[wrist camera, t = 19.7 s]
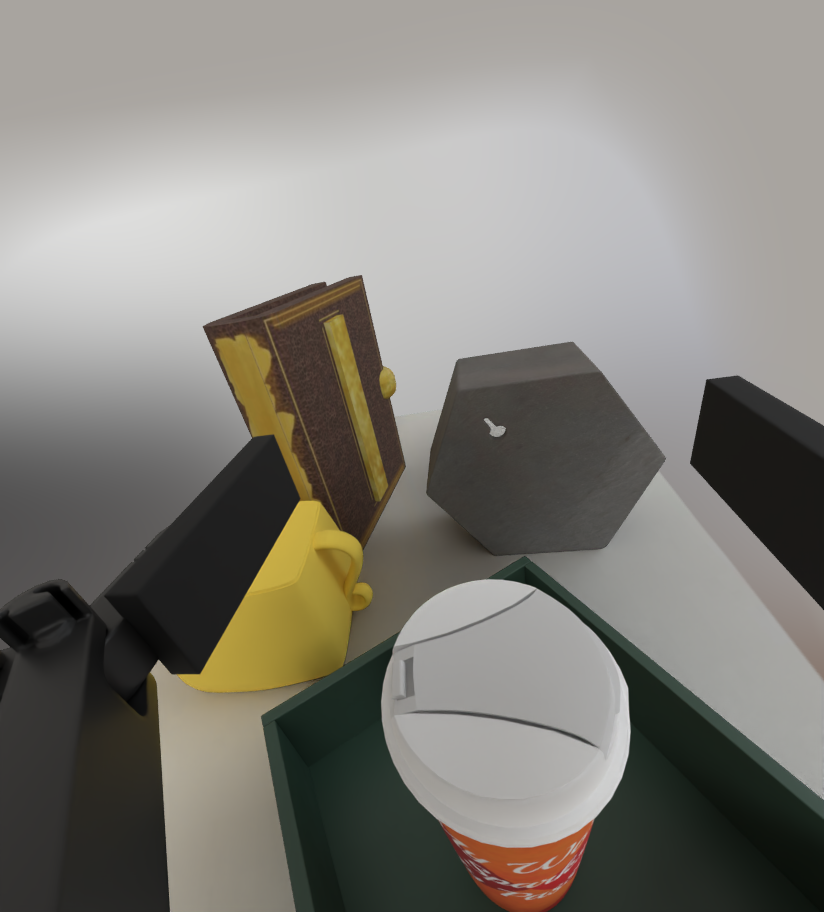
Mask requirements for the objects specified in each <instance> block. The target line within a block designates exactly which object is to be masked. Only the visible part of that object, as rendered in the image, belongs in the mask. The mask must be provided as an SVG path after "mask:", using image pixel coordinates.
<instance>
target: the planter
mask: <svg viewBox="0 0 824 912" xmlns="http://www.w3.org/2000/svg"><path fill="white" fill-rule="evenodd" d="M485 418H488V419H489V420H490V421H491V422H492V423H493V424H494V425H495V426H496V427H497V426H504V427H505V428H506V431H505V433H504V434H503V435H502V436H500V437H493V436H491V435H490V434H489V433H490V431H491V429H490V427H489V425H488V424H487V423H486V422H485V421H484V420H483V419H485ZM665 459H666V458H665V456H664V455H663V453H662V452H661V451H660V449H659V448H658V446H657V445H656V444H655V443H654V441H653V440H652V439H651V437H650V436H649V435H648V433H647V432H646V431H645V429H644V428H643V427H642V425H641V424H640V423H639V421H638V420H637V419H636V417H635V416H634V414H633V413H632V412H631V411H630V409H629V408H628V407H627V405H626V404H625V403H624V401H623V400H622V399H621V397H620V396H619V395H618V393H617V392H616V391H615V389H614V388H613V387H612V385H611V384H610V383H609V381H608V380H607V379H606V377H605V376H604V375H603V373H602V372H601V371H600V370H599V369H598V368H597V367H596V366H595V365H594V364H593V362H591V360H589V358H588V357H587V356H586V355H585V354H584V353H583V352H582V351H581V350H580V349H579V348H578V347H577V346H576V345H575V343H574V342H567V343H561V344H554V345H547V346H541V347H534V348H528V349H521V350H515V351H508V352H502V353H495V354H488V355H482V356H476V357H470V358H463V359H458V360H457V362H456V365H455V368H454V371H453V375H452V378H451V382H450V385H449V389H448V392H447V395H446V399H445V402H444V406H443V409H442V413H441V416H440V419H439V423H438V426H437V430H436V433H435V437H434V440H433V444H432V447H431V452H430V462H429V472H428V482H427V491H426V493H427V495H428V496H429V497H430V498H431V499H432V500H433V501H434V502H436V503H437V504H438V505H439V506H440V507H441V508H442V509H443V510H444V511H446V512H447V513H448V514H449V515H450V516H451V517H452V518H453V519H454V520H455V521H457V522H458V523H459V524H460V525H461V526H462V527H463V528H464V529H465V530H467V531H468V532H469V533H470V534H471V535H472V536H473V537H474V538H475V539H476V540H478V541H479V542H480V543H481V544H482V545H483V546H484V547H485V548H486V549H488V550H489V551H490V552H491V553H492V554H493V555H511V554H526V553H541V552H557V551H572V550H587V549H600V548H604V547H606V546H607V545H608V543H609V542H610V540H611V539H612V538H613V536H614V535H615V533H616V532H617V530H618V529H619V527H620V526H621V525H622V523H623V522H624V520H625V519H626V517H627V516H628V514H629V513H630V511H631V510H632V508H633V507H634V506H635V504H636V503H637V501H638V500H639V498H640V497H641V495H642V494H643V492H644V491H645V489H646V488H647V486H648V485H649V484H650V482H651V481H652V479H653V478H654V476H655V475H656V473H657V472H658V470H659V469H660V467H661V466H662V464H663V463H664V462H665Z"/></svg>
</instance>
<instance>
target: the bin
mask: <svg viewBox="0 0 824 912" xmlns="http://www.w3.org/2000/svg"><path fill="white" fill-rule="evenodd" d="M488 579H493V580H507V581H514V582H519V583H522V584H526V585H530V586H532V587H535V588H537V589H539V590H540V591H542V592H544V593H545V594H547V595H549V596H550V597H552V598H554V599H555V600H557V601H558V602H559V603H561V604H562V605H564V606H565V607H567V608H568V609H569V610H570V611H572V612H573V613H574V614H575V615H576V616H577V617H578V618H579V619H580V620H581V621H582V622H583V623H584V624H585V625H586V626H588V627H589V628H590V629H591V630H592V631H593V632H594V633H595V634H596V635H597V636H598V637H599V639H600V640H601V641H602V642H603V644H604V645H605V646H606V647H607V649H608V650H609V651H610V653H611V654H612V656H613V658H614V659H615V661H616V663H617V664H618V666H619V668H620V670H621V672H622V674H623V677H624V679H625V682H626V684H627V686H628V699H629V718H630V730H631V733H630V744H629V755H628V758H627V762H626V765H625V769H624V773H623V776H622V779H621V781H620V783H619V785H618V787H617V788H616V790H615V792H614V794H613V796H612V798H611V799H610V801H609V802H608V803H607V804H606V806H605V807H604V808H603V809H602V811H601V812H600V813H599V814H598V816H597V817H595V819H594V822H593V825H592V828H591V832H590V835H589V838H588V841H587V844H586V847H585V850H584V853H583V856H582V859H581V862H580V865H579V868H578V870H577V873H576V876H575V878H574V880H573V883H572V885H571V887H570V888H569V890H568V892H567V893H566V895H565V896H564V898H563V899H562V900H561V901H560V902H559V903H558V904H557V905H556V906H555V907H553V908H552V909H550V910H548V911H546V912H824V800H823V799H821V798H820V797H819V796H818V795H817V794H815V793H814V792H813V791H812V790H810V789H809V788H808V787H807V786H806V785H804V784H803V783H802V782H801V781H799V780H798V779H797V778H796V777H795V776H793V775H792V774H791V773H790V772H788V771H787V770H786V769H785V768H784V767H782V766H781V765H780V764H779V763H777V762H776V761H775V760H774V759H773V758H771V757H770V756H769V755H768V754H766V753H765V752H764V751H763V750H762V749H760V748H759V747H758V746H757V745H755V744H754V743H753V742H752V741H751V740H749V739H748V738H747V737H746V736H744V735H743V734H742V733H741V732H740V731H738V730H737V729H736V728H735V727H733V726H732V725H731V724H730V723H729V722H727V721H726V720H725V719H724V718H722V717H721V716H720V715H719V714H718V713H716V712H715V711H714V710H713V709H711V708H710V707H709V706H708V705H707V704H705V703H704V702H703V701H702V700H700V699H699V698H698V697H697V696H696V695H694V694H693V693H692V692H691V691H689V690H688V689H687V688H686V687H685V686H683V685H682V684H681V683H680V682H678V681H677V680H676V679H675V678H674V677H672V676H671V675H670V674H669V673H667V672H666V671H665V670H664V669H663V668H661V667H660V666H659V665H658V664H656V663H655V662H654V661H653V660H652V659H650V658H649V657H648V656H647V655H646V654H644V653H643V652H642V651H641V650H639V649H638V648H637V647H636V646H635V645H633V644H632V643H631V642H630V641H628V640H627V639H626V638H625V637H624V636H622V635H621V634H620V633H619V632H617V631H616V630H615V629H614V628H613V627H611V626H610V625H609V624H608V623H606V622H605V621H604V620H603V619H602V618H600V617H599V616H598V615H597V614H595V613H594V612H593V611H592V610H591V609H589V608H588V607H587V606H586V605H584V604H583V603H582V602H581V601H580V600H578V599H577V598H576V597H575V596H573V595H572V594H571V593H570V592H569V591H567V590H566V589H565V588H564V587H562V586H561V585H560V584H559V583H558V582H556V581H555V580H554V579H553V578H551V577H550V576H549V575H548V574H547V573H545V572H544V571H543V570H542V569H540V568H539V567H538V566H537V565H536V564H534V563H533V562H531V561H530V560H529V559H528V558H527V557H526V556H524V557H522V558H521V559H519V560H517V561H516V562H514V563H512V564H511V565H509V566H507V567H506V568H504V569H502V570H501V571H499V572H498V573H496V574H494V575H493V576H491V577H489V578H488ZM486 580H487V579H486ZM400 632H401V631H400ZM400 632H399V633H397V634H395V635H394V636H392V637H390V638H389V639H387V640H385V641H384V642H382V643H381V644H379V645H377V646H376V647H374V648H372V649H371V650H369V651H367V652H366V653H364V654H362V655H361V656H359V657H357V658H356V659H354V660H353V661H351V662H349V663H348V664H346V665H344V666H343V667H341V668H339V669H338V670H336V671H334V672H333V673H331V674H329V675H328V676H326V677H325V678H323V679H321V680H320V681H318V682H316V683H315V684H313V685H311V686H310V687H308V688H306V689H305V690H303V691H301V692H300V693H298V694H297V695H295V696H293V697H292V698H290V699H288V700H287V701H285V702H283V703H282V704H280V705H278V706H277V707H275V708H273V709H272V710H270V711H269V712H267V713H265V714H264V715H262V716H261V719H262V724H263V727H264V728H263V730H264V736H265V741H266V747H267V752H268V758H269V763H270V769H271V775H272V780H273V786H274V791H275V797H276V802H277V808H278V814H279V819H280V825H281V830H282V836H283V841H284V847H285V853H286V858H287V864H288V869H289V875H290V880H291V886H292V892H293V897H294V903H295V908H296V912H509V911H507V910H505V909H503V908H501V907H500V906H498V905H497V904H495V903H494V902H493V901H492V900H490V899H489V898H488V897H487V896H486V895H485V894H484V893H483V891H482V890H481V889H480V888H479V887H478V885H477V884H476V883H475V881H474V880H473V878H472V877H471V875H470V874H469V872H468V871H467V869H466V867H465V866H464V864H463V862H462V861H461V859H460V857H459V856H458V854H457V852H456V851H455V849H454V847H453V845H452V844H451V842H450V840H449V838H448V837H447V835H446V833H445V831H444V830H443V828H442V826H441V824H440V822H439V821H438V819H436V818H435V817H434V816H433V815H432V814H431V813H430V812H429V811H428V810H427V809H426V808H425V807H423V806H422V805H421V804H420V803H419V802H418V800H417V799H416V798H415V796H414V795H413V794H412V793H411V791H410V790H409V789H408V787H407V786H406V785H405V783H404V782H403V780H402V778H401V776H400V774H399V772H398V770H397V769H396V767H395V765H394V763H393V760H392V758H391V755H390V752H389V749H388V746H387V744H386V740H385V734H384V729H383V724H382V710H381V699H382V689H383V682H384V678H385V674H386V670H387V667H388V664H389V662H390V659H391V657H392V655H393V652H392V650H393V647H394V645H395V643H396V640H397V638H398V636H399V634H400Z"/></svg>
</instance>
